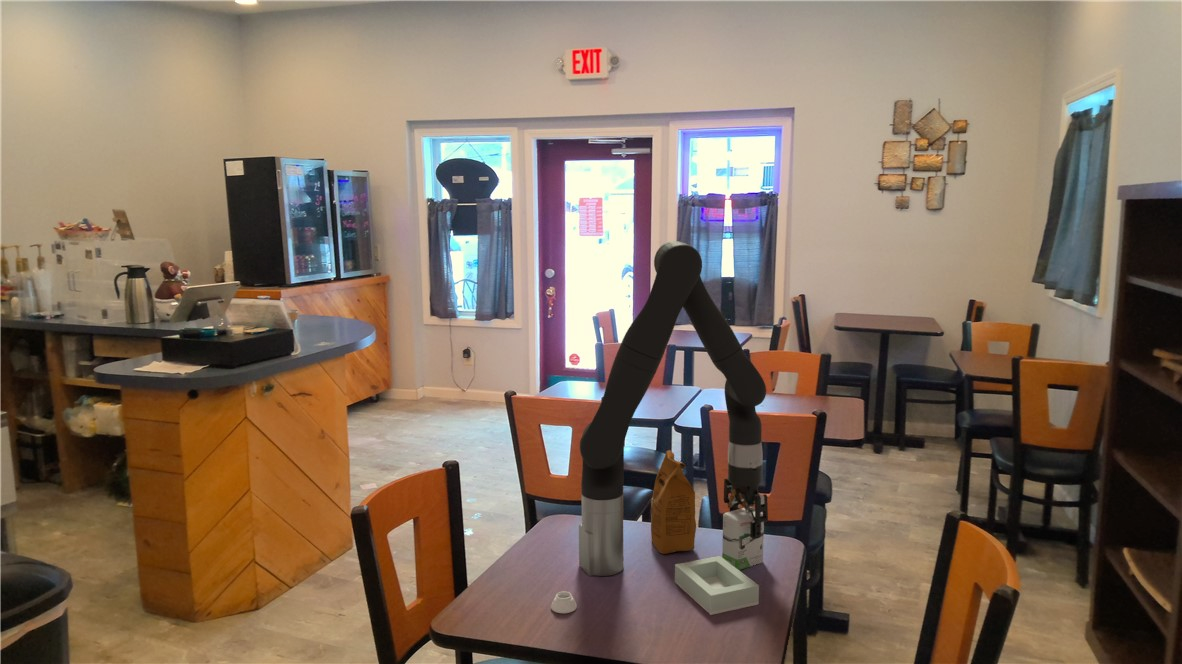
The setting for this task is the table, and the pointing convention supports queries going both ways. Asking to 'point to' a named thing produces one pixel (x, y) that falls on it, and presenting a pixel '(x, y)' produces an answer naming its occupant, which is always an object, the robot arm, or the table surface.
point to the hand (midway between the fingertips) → (744, 530)
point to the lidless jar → (563, 603)
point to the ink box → (741, 540)
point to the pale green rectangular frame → (716, 585)
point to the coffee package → (672, 508)
